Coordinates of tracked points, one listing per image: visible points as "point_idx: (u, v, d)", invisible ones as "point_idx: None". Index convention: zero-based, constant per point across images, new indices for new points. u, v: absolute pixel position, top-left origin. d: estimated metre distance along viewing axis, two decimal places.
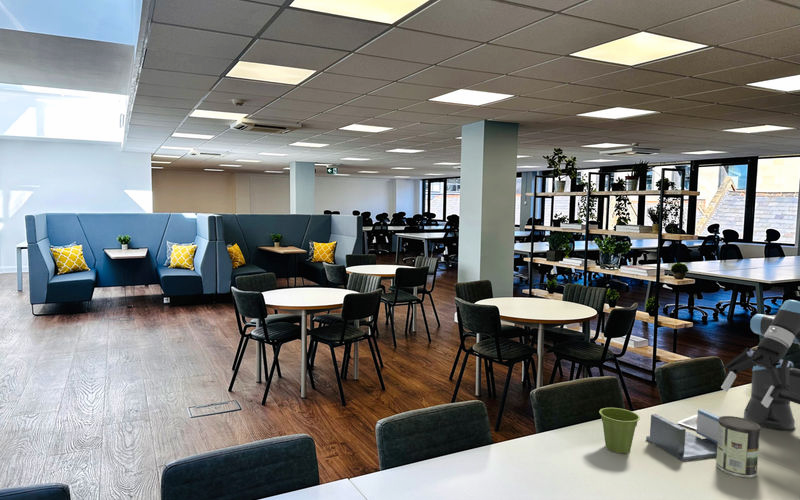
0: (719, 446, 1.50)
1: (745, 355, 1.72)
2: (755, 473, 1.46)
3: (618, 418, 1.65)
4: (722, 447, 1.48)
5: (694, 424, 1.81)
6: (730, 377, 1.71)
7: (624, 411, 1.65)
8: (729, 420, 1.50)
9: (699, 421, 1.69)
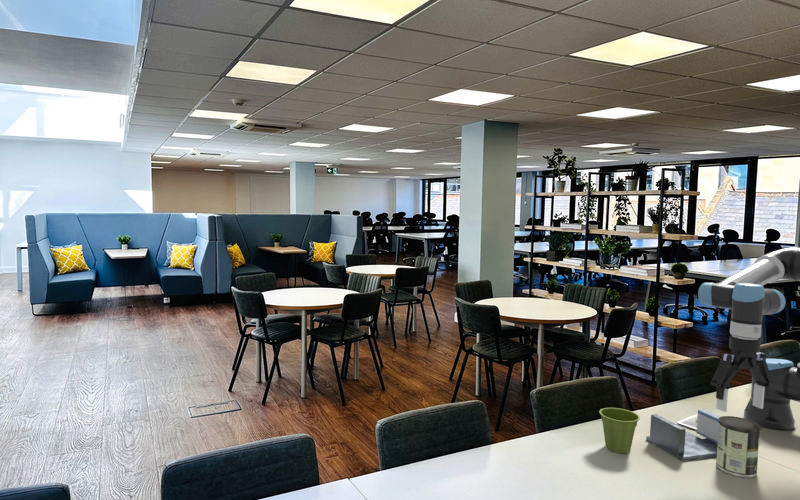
0: (719, 446, 1.50)
1: None
2: (755, 473, 1.46)
3: (618, 418, 1.65)
4: (722, 447, 1.48)
5: (694, 423, 1.81)
6: None
7: (624, 411, 1.65)
8: (729, 420, 1.50)
9: (699, 421, 1.69)
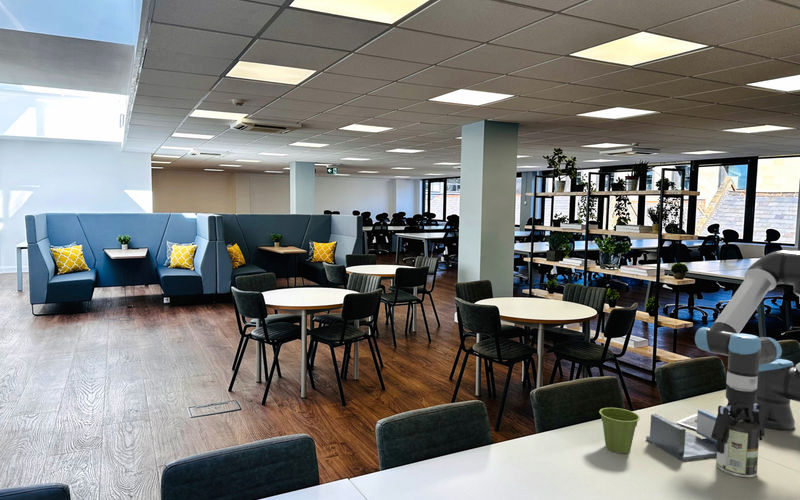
0: None
1: None
2: (755, 473, 1.46)
3: (618, 418, 1.65)
4: None
5: (693, 423, 1.81)
6: None
7: (624, 411, 1.65)
8: None
9: (699, 421, 1.69)
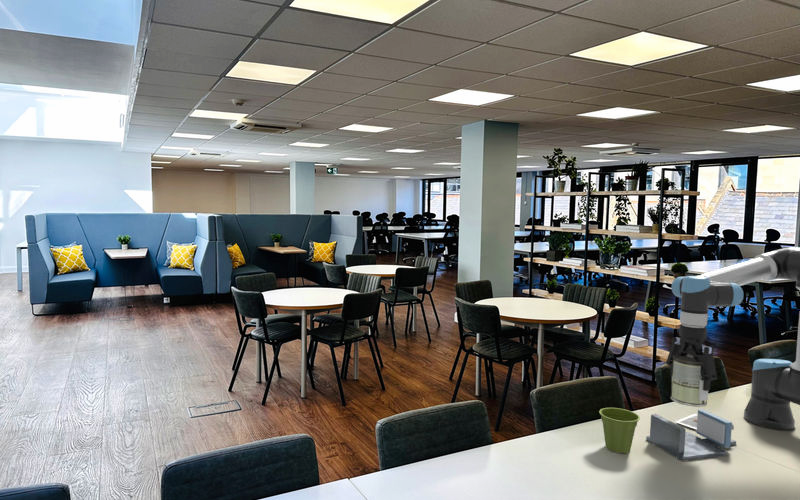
0: (696, 386, 1.57)
1: None
2: None
3: (618, 418, 1.65)
4: None
5: (692, 423, 1.82)
6: None
7: (624, 411, 1.65)
8: (689, 359, 1.59)
9: (699, 421, 1.69)
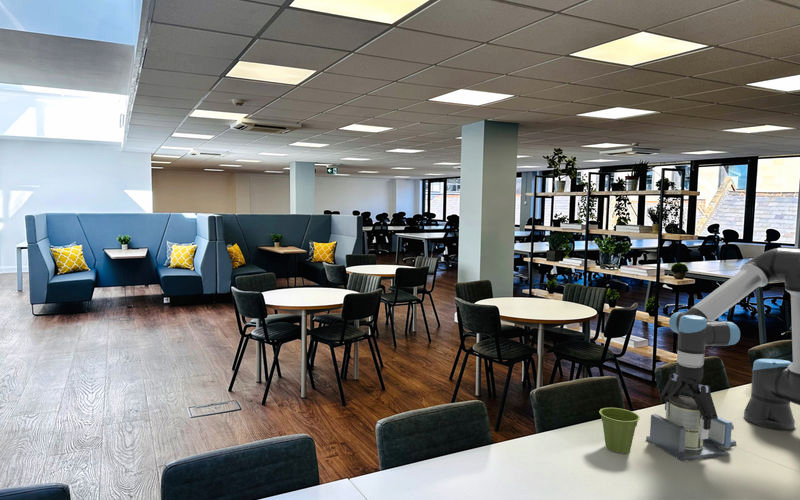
0: (692, 430, 1.58)
1: None
2: None
3: (618, 418, 1.65)
4: (697, 429, 1.58)
5: None
6: None
7: (624, 411, 1.65)
8: (686, 403, 1.61)
9: None
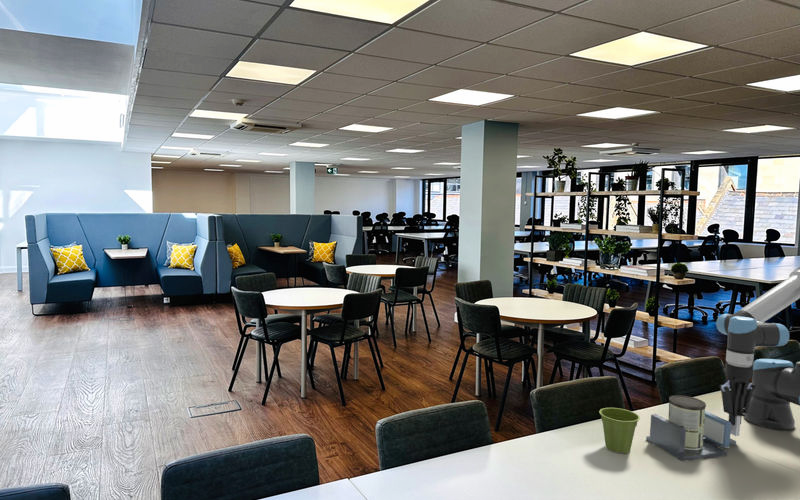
0: (692, 430, 1.58)
1: None
2: None
3: (618, 418, 1.65)
4: (697, 429, 1.58)
5: None
6: None
7: (624, 411, 1.65)
8: (686, 403, 1.61)
9: None
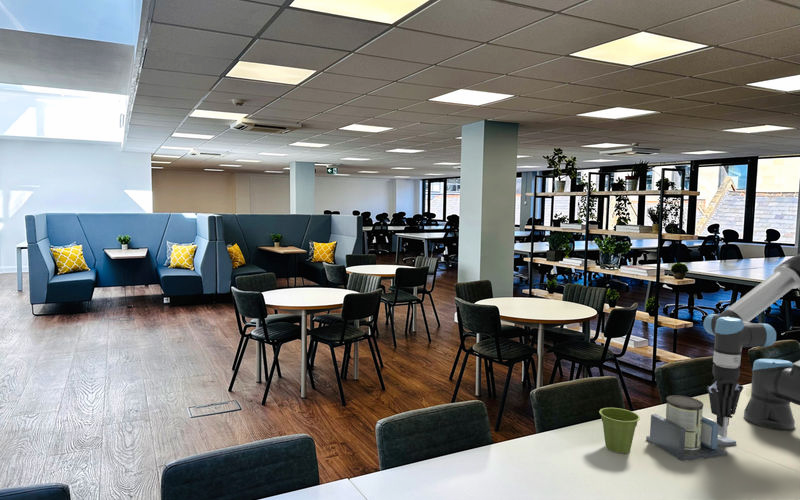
0: (689, 430, 1.58)
1: None
2: None
3: (618, 418, 1.65)
4: (694, 429, 1.58)
5: None
6: None
7: (624, 411, 1.65)
8: (683, 403, 1.61)
9: None
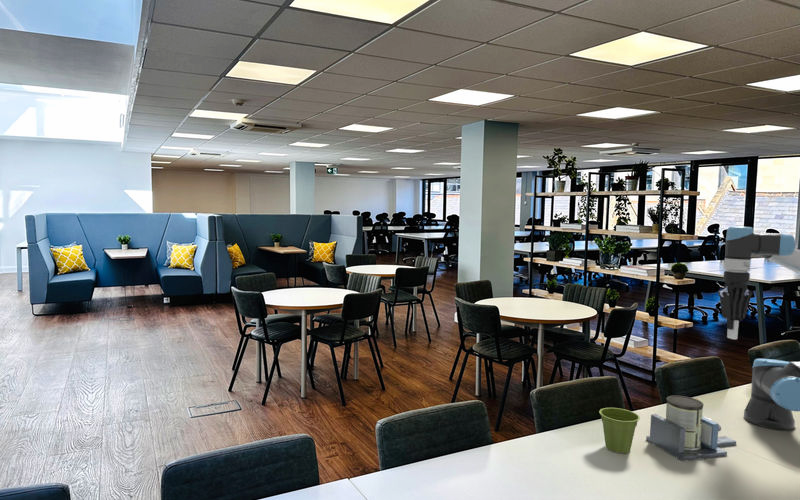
0: (689, 430, 1.58)
1: None
2: None
3: (618, 418, 1.65)
4: (694, 429, 1.58)
5: None
6: None
7: (624, 411, 1.65)
8: (683, 403, 1.61)
9: None
